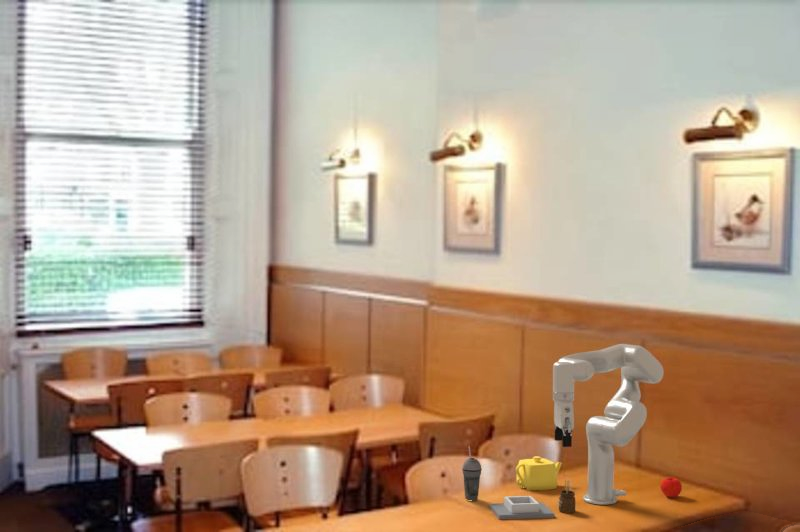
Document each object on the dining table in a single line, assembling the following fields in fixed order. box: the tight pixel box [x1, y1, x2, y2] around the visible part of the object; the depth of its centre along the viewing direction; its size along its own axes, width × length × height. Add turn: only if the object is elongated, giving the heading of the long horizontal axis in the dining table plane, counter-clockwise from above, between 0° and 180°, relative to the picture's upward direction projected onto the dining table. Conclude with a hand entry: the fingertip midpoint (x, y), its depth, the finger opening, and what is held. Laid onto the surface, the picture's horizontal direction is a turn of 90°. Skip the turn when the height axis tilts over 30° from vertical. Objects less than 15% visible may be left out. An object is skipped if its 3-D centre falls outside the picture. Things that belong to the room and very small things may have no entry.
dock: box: [488, 495, 555, 520], centre depth 346 cm, size 20×14×4 cm
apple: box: [659, 477, 683, 499], centre depth 370 cm, size 8×8×7 cm
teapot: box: [515, 455, 563, 492], centre depth 382 cm, size 20×12×12 cm, turn 110°
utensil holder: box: [558, 479, 576, 514], centre depth 348 cm, size 6×6×12 cm
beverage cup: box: [461, 445, 482, 502], centre depth 361 cm, size 7×7×20 cm
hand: (562, 443), depth 348 cm, fingers open, 9 cm apart
